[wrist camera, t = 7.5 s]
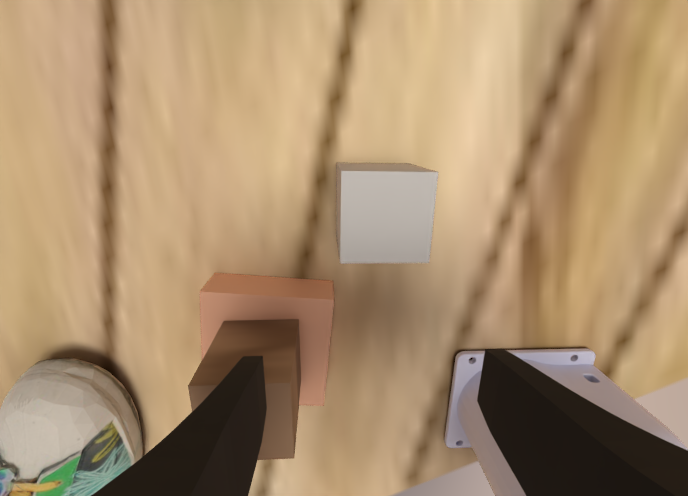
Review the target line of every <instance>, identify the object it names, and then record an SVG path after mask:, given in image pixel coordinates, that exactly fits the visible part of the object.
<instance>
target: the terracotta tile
mask: <svg viewBox="0 0 688 496" xmlns="http://www.w3.org/2000/svg"><path fill="white" fill-rule="evenodd" d="M333 308H334V289H333V281H329V280H314V279H299V278H284V277H269V276H254V275H239V274H224V273H214V275H213V276H212V277H211V278H210V279H209V281H208V282H207V283H206V284H205V286H204V287H203V288H202V289H201V291H200V317H201V347H202V360H203V358H204V356H205V354H206V352H207V350H208V349H209V347H210V345H211V343H212V341H213V339H214V338H215V336H216V334H217V332H218V330H219V328H220V327H221V325H222V323H223V321H233V320H280V319H299V335H300V363H301V387H300V398H299V405H317V406H324V399H325V389H326V379H327V369H328V359H329V348H330V338H331V328H332V318H333Z"/></svg>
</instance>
